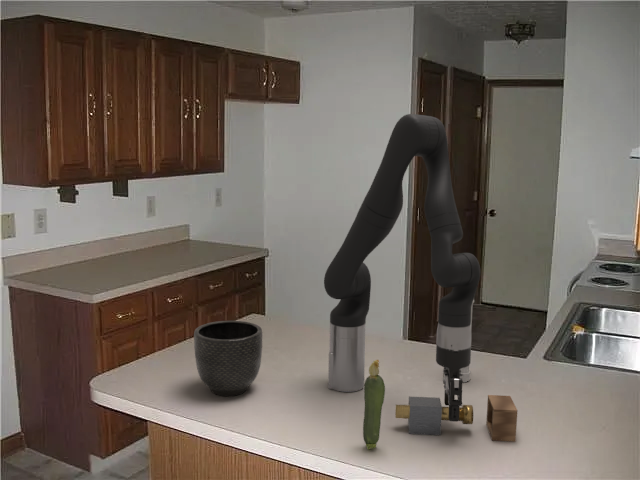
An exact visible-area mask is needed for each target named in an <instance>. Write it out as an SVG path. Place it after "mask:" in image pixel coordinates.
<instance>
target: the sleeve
mask: <svg viewBox="0 0 640 480" xmlns="http://www.w3.org/2000/svg"><path fill="white" fill-rule="evenodd" d="M408 405H409V406H410V413H409V419H407V428H408V434H409V435H427V436H429V435H430V436H442V435H441V434H442V420H441V418H442V407H443V406H442V402H441V398H440V397H427V396H408Z"/></svg>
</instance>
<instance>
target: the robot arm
mask: <svg viewBox="0 0 640 480" xmlns="http://www.w3.org/2000/svg"><path fill="white" fill-rule="evenodd" d="M387 142H388V143H387V145H386V148H385V151H384V154H383V157H382V160H381V162H380V164H379V167H378V169H377V171H376V173H375V176H374V178H373V180H372V182H371V184H370V187H369V189H368V191H367V193H366V195H365V196H364V199H363V200H362V203H361V205H360V207H359V209H358V211H357V213H356V216H355V219H354V220H353V223H352V224H351V226H350V228H349V230H348V232H347V234H346V236H345V239H344V241H343V242H342V244H341V246H340V248H339V249H338V251H337V252H336V254H335V255H334V257H333V259H332V261H331V262H330V264H329V266H328V267H327V269H326V271H325V274H324V278H323V287H324V290H325V293H326V294H327V295H328V296H329V297H330V298H332V299H335V300H340V301H338V303H337V305H336V306H334V308H333V309H332V310H331V311H330V314H329V351H328V377H327V378H328V379H327V380H328V383H327V384H328V386H327V388H328V389H329V390H334V391H338V392H343V393H344V392H345V393H346V392H347V393H352V392H358V391H361V390H362V389H364V384H365V367H366V364H365V363H366V360H365V358H366V357H365V356H366V322H367V321H366V320H367V315H368V313H369V310H370V303H371V302H370V300H371V292H372V291H371V290H372V289H371V288H372V287H371V286H372V279H371V278H372V277H371V272H370V270H369V268H368V266H367V265H366V263H365V262H364V261H365V260H366V258H367V257H368V256H369V255H370V254H371V253H372V252H373V251H374V250H375V249H376V248H377V247H378V246H380V244H381V243H382V242H383V241H384V240H386V238H387V237H388V236H389V234H390V233H391V231H392V230H393V228H394V226H395V224H396V223H397V222H398V221H397V220H398V219H399V216H400V214H401V212H402V210H403V205H404V192H403V182H404V181H403V180H404V177H405V173H406V172H407V169H408V167H409V166H410V164H411V162H412V160H413V159H414V157H421V158H422V160H423V162H424V165H425V169H426V172H427V187H426V190H425V191H426V192H425V197H424V205H423V206H424V208H423V209H424V215H425V220H426V224H427V229H428V231H429V236H430V241H431V243H430V271H431V274H432V275H431V276H432V278H433V279H434V281H435V282H436V284H437V285H439V287H442V288H452V290H451V291H450V292H449V293H448V294H446V295H444V296H442V297H441V298H440V300H439V301H438V315H437V317H438V319H437V320H438V321H437V322H438V323H437V329H436V345H435V346H436V347H435V348H436V350H435V352H436V353H435V362H436V364H437V365H439V366H440V367H442V368H443V369H442V384H443V389H444V399H443V400H444V403H443V404H444V405H445V407H449V422H460V421H459V408H460V407H462V405H463V384H464V382H463V374H461V370H460V369H461V368H465V367H467V366H469V367H470V365H471V358H472V357H471V356H472V326H471V306H472V302H473V300H474V301H475V297H476V292H477V290H478V285H479V282H480V278H481V265H480V262H479V260H478V258H477V257H476V256H475V255H474V254H473V253H471V252H459V253H453V244H455V243H458V242H460V241H461V240H462V239H463V237H464V232H463V228H462V223H461V219H460V215H459V211H458V209H457V205H456V200H455V196H454V190H453V184H452V175H451V174H452V173H451V164H450V157H449V155H450V154H449V143H448V137H447V132H446V129H445V126H444V124H443V122H442V121H441V119H439V118H438V117H435V116H431V115H423V114H417V113H407V114H404V115H403V116H402V117H400V118H399V119H398V121H397V122H396V123H395V125H394V127H393V130H392V132H391V133H390V137H389V140H388V141H387ZM455 396H456V397H457V399H455V398H456V397H455Z"/></svg>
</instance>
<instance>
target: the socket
mask: <svg viewBox="0 0 640 480" xmlns="http://www.w3.org/2000/svg"><path fill="white" fill-rule="evenodd" d="M486 407H487V409H486V421H485V422H486V424H485V425H486V428H487V430H488V433H489V435H490V439H491V441H493V442H494V441H496V442H497V441H498V442H515V443H516V441H517V440H516V437H517V424H518V423H517V421H518V409H517V407H516V405H515V403H514V400H513V398H512V396H510V395H501V394H500V395H497V394H496V395H495V394H488V395H487V406H486Z"/></svg>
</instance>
